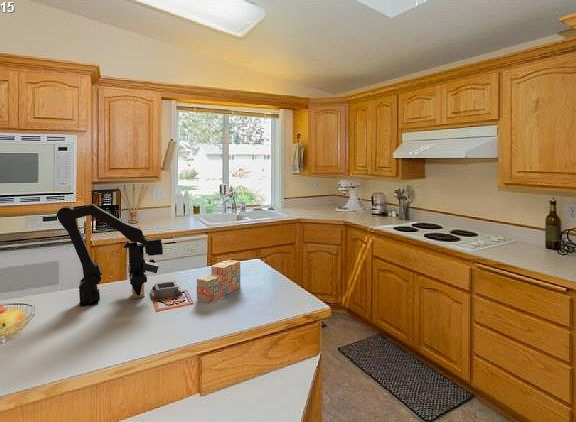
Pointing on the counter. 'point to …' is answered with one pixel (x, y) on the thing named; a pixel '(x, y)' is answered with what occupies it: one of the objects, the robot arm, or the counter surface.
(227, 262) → the stack of blocks
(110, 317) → the counter surface
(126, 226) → the robot arm
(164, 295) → the chassis
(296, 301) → the counter surface
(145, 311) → the counter surface
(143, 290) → the brass knobbed block
